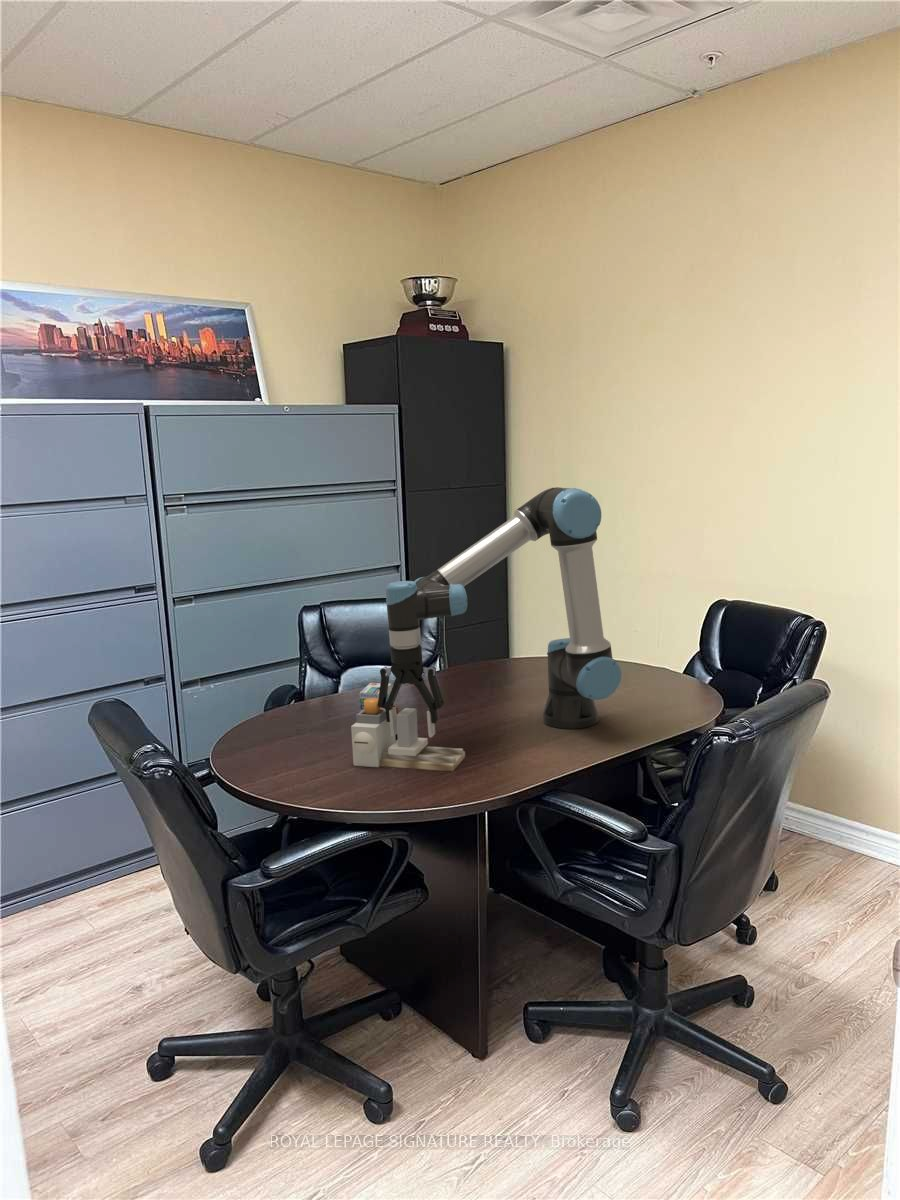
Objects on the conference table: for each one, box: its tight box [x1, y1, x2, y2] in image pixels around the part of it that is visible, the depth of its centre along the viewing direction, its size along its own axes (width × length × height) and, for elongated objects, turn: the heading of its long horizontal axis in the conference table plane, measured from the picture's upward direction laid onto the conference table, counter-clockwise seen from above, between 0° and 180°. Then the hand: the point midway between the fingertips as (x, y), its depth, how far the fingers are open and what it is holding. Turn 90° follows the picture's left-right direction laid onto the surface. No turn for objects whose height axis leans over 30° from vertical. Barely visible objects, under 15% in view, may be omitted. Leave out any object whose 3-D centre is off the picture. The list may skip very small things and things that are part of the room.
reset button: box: [364, 698, 381, 714], centre depth 226 cm, size 4×4×3 cm
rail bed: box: [380, 745, 466, 772], centre depth 224 cm, size 18×10×3 cm, turn 72°
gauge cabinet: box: [350, 709, 397, 768], centre depth 227 cm, size 6×13×12 cm, turn 162°
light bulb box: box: [359, 682, 393, 712], centre depth 255 cm, size 11×7×11 cm, turn 168°
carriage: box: [388, 707, 429, 756], centre depth 224 cm, size 7×9×10 cm
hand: (413, 734), depth 224 cm, fingers open, 9 cm apart
